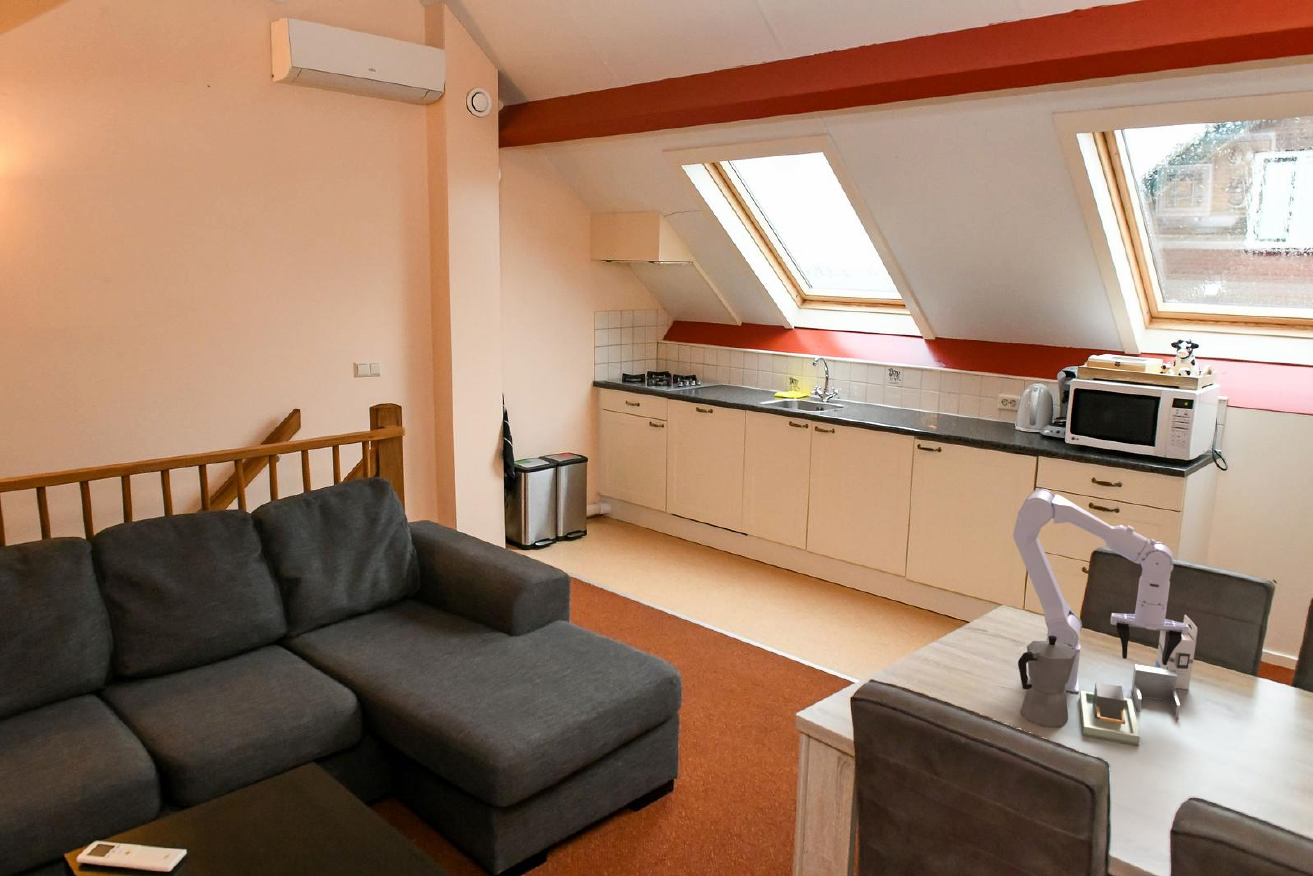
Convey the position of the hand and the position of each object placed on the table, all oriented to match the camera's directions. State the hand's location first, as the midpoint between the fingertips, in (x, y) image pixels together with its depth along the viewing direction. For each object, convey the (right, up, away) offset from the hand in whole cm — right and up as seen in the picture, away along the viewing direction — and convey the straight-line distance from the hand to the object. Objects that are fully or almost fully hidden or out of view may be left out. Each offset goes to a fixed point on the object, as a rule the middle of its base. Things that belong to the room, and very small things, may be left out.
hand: (1144, 660), depth 200 cm
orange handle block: (-12, -10, -8) cm, 17 cm away
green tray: (-11, -11, -7) cm, 18 cm away
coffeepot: (-25, -11, -6) cm, 28 cm away
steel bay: (+2, -10, +1) cm, 10 cm away
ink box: (+12, -8, +12) cm, 19 cm away
